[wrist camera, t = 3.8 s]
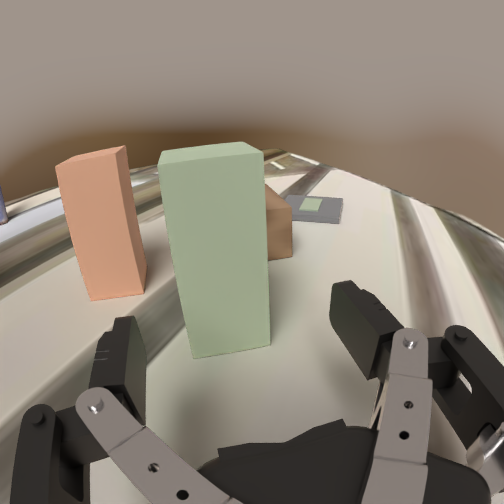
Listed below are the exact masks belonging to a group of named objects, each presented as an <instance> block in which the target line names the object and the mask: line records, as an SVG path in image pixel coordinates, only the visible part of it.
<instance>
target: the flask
mask: <svg viewBox="0 0 504 504" xmlns="http://www.w3.org/2000/svg"><path fill="white" fill-rule="evenodd" d="M1 222H2V223H1ZM7 222H8V217H7V212H6V208H5V204H4V200H3V196H2V192H1V186H0V225H3V223H7Z"/></svg>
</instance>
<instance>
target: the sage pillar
mask: <svg viewBox="0 0 504 504" xmlns="http://www.w3.org/2000/svg"><path fill="white" fill-rule="evenodd" d="M157 166H158V173H159V181H160V188H161V195H162V201H163V208H164V214H165V221H166V227H167V233H168V239H169V244H170V250H171V255H172V261H173V266H174V271H175V277H176V282H177V287H178V292H179V296H180V301H181V306H182V311H183V315H184V320H185V324H186V329H187V333H188V337H189V342H190V346H191V350H192V354H193V358H194V359H196V358H203V357H209V356H215V355H221V354H227V353H233V352H238V351H244V350H249V349H254V348H259V347H264V346H269V345H271V344H270V310H269V279H268V252H267V226H266V203H265V180H264V159H263V152H261V151H259V150H258V149H256V148H254V147H252V146H250V145H248V144H246V143H244V142H234V143H225V144H215V145H205V146H198V147H189V148H182V149H174V150H168V151H162V154H161V156H160V159H159V162H158V165H157Z"/></svg>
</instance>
